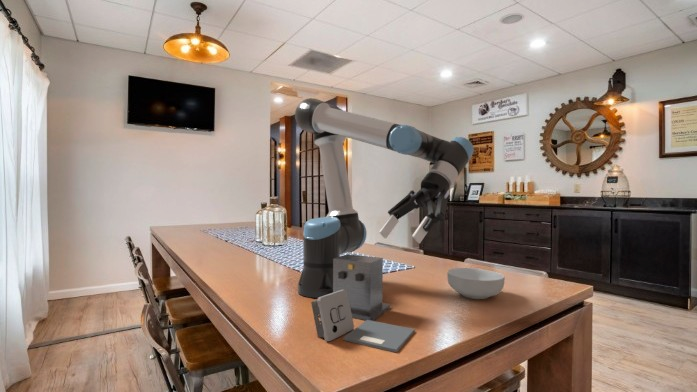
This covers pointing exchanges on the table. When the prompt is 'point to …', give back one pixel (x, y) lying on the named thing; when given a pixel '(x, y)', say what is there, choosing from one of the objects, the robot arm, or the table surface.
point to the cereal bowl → (475, 282)
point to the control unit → (361, 284)
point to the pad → (380, 335)
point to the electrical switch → (332, 315)
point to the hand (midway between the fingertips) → (398, 237)
